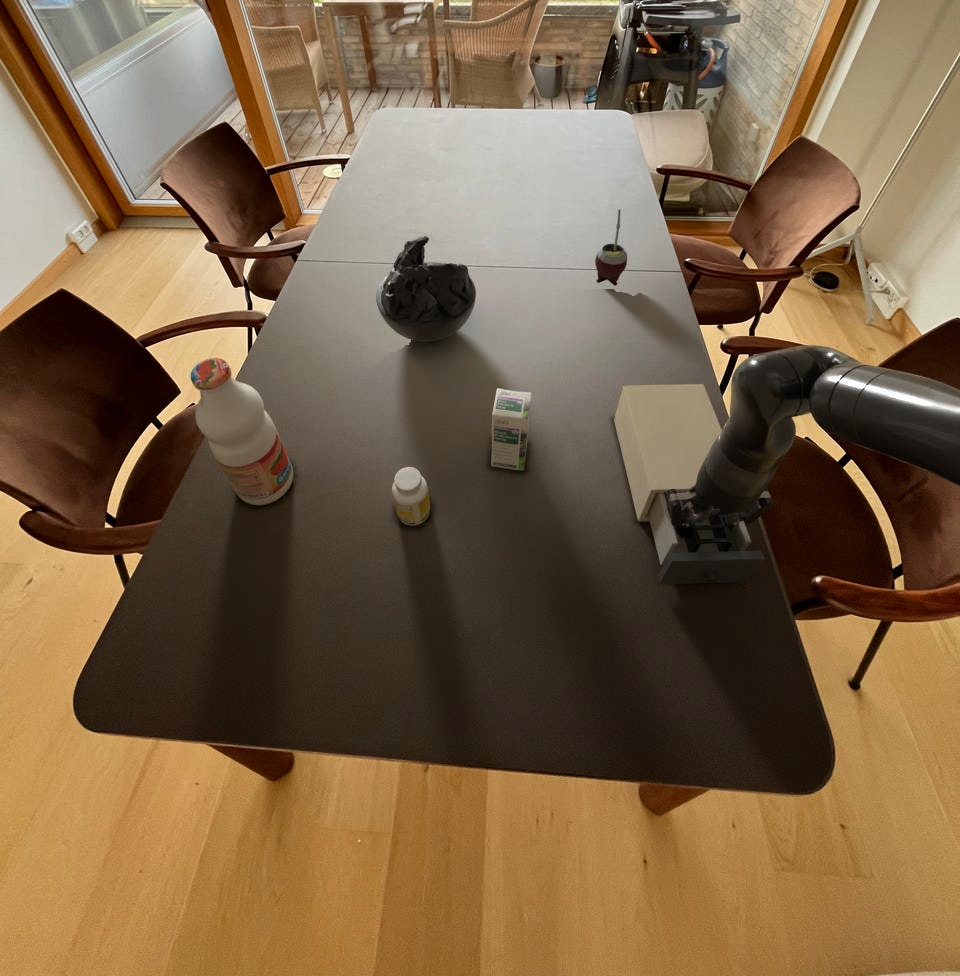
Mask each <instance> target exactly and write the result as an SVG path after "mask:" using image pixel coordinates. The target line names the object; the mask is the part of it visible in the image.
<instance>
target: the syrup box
mask: <svg viewBox="0 0 960 976" xmlns="http://www.w3.org/2000/svg"><path fill="white" fill-rule="evenodd" d="M532 394H533V393H532V392H531V391H527V392H526V391H520V390H516V389H515V390H514V389H508V388H507V389H506V388H500V387H497V388H496V392H495V398H494V402H493V403H494V404H493V408H492V413H491V458H490V466H491V467H493V468H494V467H495V468H500V469H506V470H507V469H508V470H514V471H521V472H523V471H525V465H526V464H525V463H526V457H527V447H528V437H529V429H530V428H529V426H530V416H531V405H532V397H533V396H532Z"/></svg>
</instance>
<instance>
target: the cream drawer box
mask: <svg viewBox="0 0 960 976" xmlns="http://www.w3.org/2000/svg"><path fill="white" fill-rule="evenodd" d="M615 411H616V412H615V415H614V419H613V421H614V426H615V430H616V434H617V439H618V443H619V446H620V451H621V455H622V461H623V463H624V466H625V467H624V468H625V472H626V476H627V479H628V480H627V481H628V484H629V489H630V494H631V498H632V501H633V506H634V509H635V515H636V519H637V522H639V523H641V522H650V521H649V517H648V513H647V512H648V510H649V508H650V505H651V503H652V501H653V498H654V496H655V494H656V493H665V492H667V491H668V490H669V489H676V491H677V492H688V491H689V489H690V488H691V487H693V486H694V485H695V484H696V480H697V475H698V472H699V470H700V468H701V466H702V464H703V462H704V460H705V458H706V456H707V454H708V452H709V450H710V448H711V446H712V444H713V443H714V441H715V440H716V438H717V437H718V436H719V435H720V433H721V432H722V430H723V428H722V427H721V425H720V422H719V419H718V417H717V414H716V411H715V409H714V407H713V404H712V401H711V400H710V397H709V393H708V392H707V389H706V387H705V385H704V383H696V384H695V383H694V384H692V383H691V384H687V383H686V384H646V385H643V384H642V385H641V384H640V385H623V386H622V390H621V394H620V397H619V401H618V404H617V407H616V410H615Z"/></svg>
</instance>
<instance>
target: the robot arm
mask: <svg viewBox="0 0 960 976" xmlns="http://www.w3.org/2000/svg"><path fill="white" fill-rule="evenodd" d="M730 382H731V383H730V404H729V416H728V418H727V420H726V421H725V424H724V426H723V428H722V432H721V433H720V435H719V436H718V437H717V438H716V440H715V441H714V443H713V444H712V446H711V448H710V450H709V452H708V454H707V456H706V458H705V460H704V462H703V464H702V466H701V468H700V470H699V472H698V475H697V480H696V484H695V485H694V486H693V487H691V488H690V489H689V491H688V492H686V493H677V491H676V489H669V490H668V491H667V510H668V512H669V516H670V519H671V524H672V525H673V526H675V528H676V532H677V535H680V538H686V537H687V535H688V534H689V532H690V530H691V528H692V525H694V524H695V523H696V522H700V523H702V522H703V521H705V520H706V519H707V518H709V517H710V516H711V515H716V514H719V515H724V518H725V521H726V524H727V527H728V529H729V532H731V531H732V529H733V528H734V526H737V525H739V524H740V523H739V522H741V521H744V524H745V525H746V524H747V525H749V524H753V523H754V522H756V520H758V519H759V518H760V517H761V516H763V515H764V514H765V513H766V512H768V510H769V509H771V508H772V507H773V506H774V505H775V503H774V501H773V498H772V496H771V494H770V491H769V489H768V485H770V483H771V482H772V480H773V479H774V477H775V475H776V473H777V471H778V467H779V465H780V464H781V462H782V460H784V458H785V456H786V455H787V453H788V452H789V451H790V449H791V448H792V446H793V443H794V442H795V439H796V433H797V426H796V423H795V421H794V419H793V418H796V417H801V416H804V415H811V416H812V418H813V419H814V422H815V423H816V424H817V425H818V426H819V427H820V428H821V429H822V430H824V431H825V432H826V433H828V434H830V435H832V436H834V437H837V438H839V439H841V440H844V441H846V442H849V443H852V444H854V445H857V446H860V447H862V448H864V449H868V450H870V451H872V452H874V453H878V454H881V455H884V456H887V457H889V458H891V459H895V460H898V461H900V462H902V463H905V464H908V465H910V466H913V467H915V468H917V469H919V470H923V471H925V472H927V473H929V474H931V475H934V476H936V477H939V478H941V479H944V480H945V481H948V482H949V483H952V484H953V485H956V486H958V487H960V389H959V388H956V387H954V386H952V385H950V384H947V383H944V382H943V381H939V380H935V379H933V378H929V377H926V376H922V375H918V374H914V373H911V372H905V371H901V370H896V369H891V368H885V367H881V366H877V365H872V364H865V363H863V362H861V361H859V359H856V358H854V357H853V356H850V355H848V354H846V353H844V352H842V351H841V350H838V349H836V348H833V347H830V346H825V345H813V344H807V345H804V344H803V345H797V346H791V347H788V348H782V349H777V350H772V351H766V352H760V353H755V354H752V355H751V356H748V357H746V358H745V359H744V360H742V362H740V364H738V365H737V367H736V369H734V372H733V374H732V377H731V381H730ZM689 511H690V515H689Z"/></svg>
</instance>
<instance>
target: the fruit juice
mask: <svg viewBox="0 0 960 976" xmlns="http://www.w3.org/2000/svg"><path fill="white" fill-rule="evenodd" d="M190 380H191V381H190V382H191V383H192V385H193V386H194V388H195V389H196V390H198V391H199V393H200V398H199V400H198V402H197V404H196V407H195V413H194V419H195V423H196V425H197V427H198V429H199V431H200V433H201V434H203V436H205V438H206V439H207V444H208V447H209V449H210V451H211V453H212V455H213V457H214V458H215V460H216V462H217V463H218V465H219V466H220V469H221V470H222V472H223V473H224V475H225V476H226V478H227V480H228V481H229V483H230V485H231V487H232V488H233V490H234V492H235V494H236V495H237V496H238V498H239V499H241V500H242V501H243V502H245V503H246V504H248V505H253V506H264V505H268V504H272V503H275V502H276V501H278V500H279V499H280V498H281V497H283V496H284V495H285V494H286V493H287V492H288V491H289V489H290V487H291V486H292V483H293V480H294V468H293V465H292V462H291V460H290V458H289V455H288V453H287V451H286V448H285V447H284V444H283V441H282V440H281V437H280V434H279V432H278V430H277V427H276V425H275V423H274V420H272V417H271V416H270V415H269V413H268V412H267V411H266V410H265V405H264V401H263V399H262V396H261V394H260V393H259V392H258V391H257V390H256V389H255V388H254V387H253V386H251V385H250V384H248V383H244V382H241V381H238V380H236V379H235V378H234V377H233V376H232V368H231V366H230V365H229V364H228V362H227V361H226V360H224V359H222V358H221V357H210V358H206V359H204V360H202V361H200V362H198V363H197V364H196V365H195V366H194V367H193V368H192V370H191V371H190Z"/></svg>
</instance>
